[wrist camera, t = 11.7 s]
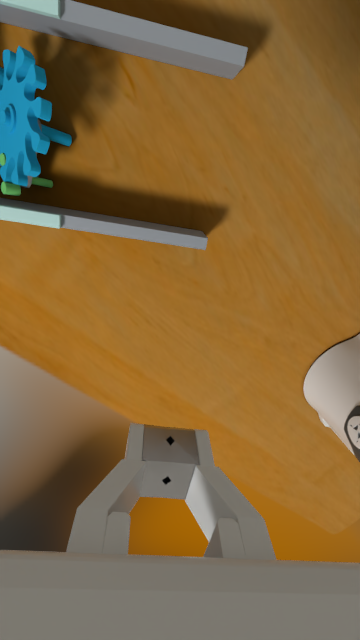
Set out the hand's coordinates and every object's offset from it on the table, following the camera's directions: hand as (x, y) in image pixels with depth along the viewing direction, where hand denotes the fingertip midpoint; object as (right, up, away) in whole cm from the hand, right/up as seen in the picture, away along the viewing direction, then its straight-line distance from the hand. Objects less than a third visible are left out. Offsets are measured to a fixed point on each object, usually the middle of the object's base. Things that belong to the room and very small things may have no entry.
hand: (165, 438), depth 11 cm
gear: (-14, +23, +17) cm, 31 cm away
